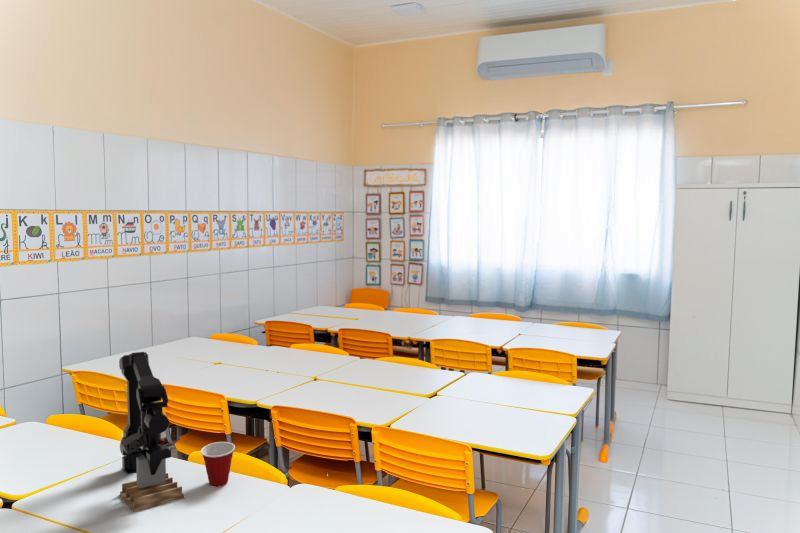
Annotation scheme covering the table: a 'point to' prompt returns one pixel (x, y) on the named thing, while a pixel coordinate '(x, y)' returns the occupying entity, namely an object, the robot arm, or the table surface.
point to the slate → (149, 473)
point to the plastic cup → (218, 462)
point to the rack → (150, 494)
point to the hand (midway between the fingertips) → (151, 473)
